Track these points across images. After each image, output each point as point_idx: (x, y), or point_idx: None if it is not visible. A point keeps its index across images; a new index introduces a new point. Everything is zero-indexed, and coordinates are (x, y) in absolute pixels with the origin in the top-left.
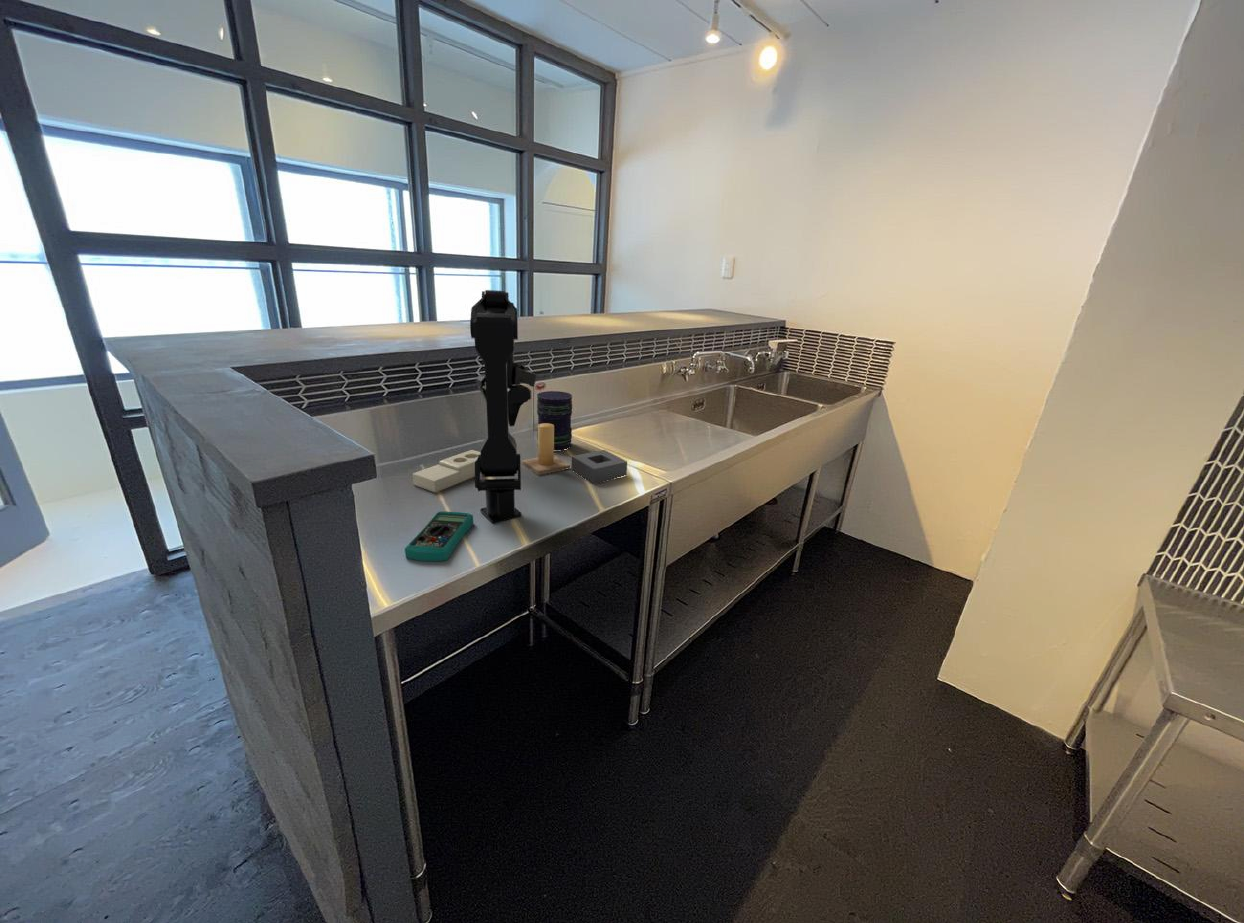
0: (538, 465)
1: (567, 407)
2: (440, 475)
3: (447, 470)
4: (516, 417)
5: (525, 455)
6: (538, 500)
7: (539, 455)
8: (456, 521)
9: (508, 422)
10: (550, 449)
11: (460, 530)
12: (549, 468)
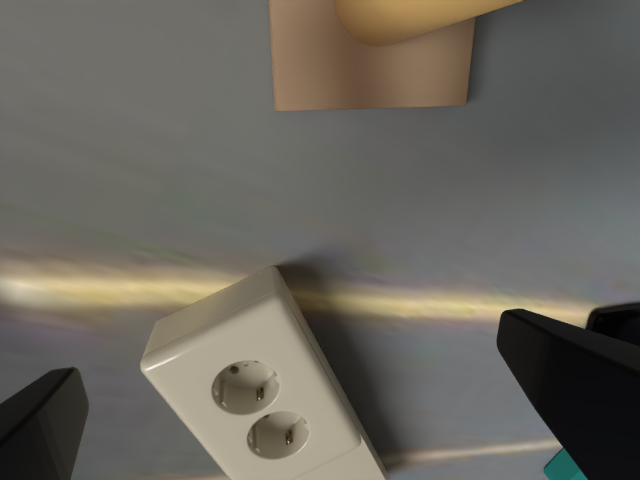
0: (394, 61)
1: None
2: None
3: (329, 468)
4: (635, 350)
5: (135, 16)
6: (630, 216)
7: (404, 38)
8: None
9: (531, 387)
10: None
11: None
12: (463, 26)
